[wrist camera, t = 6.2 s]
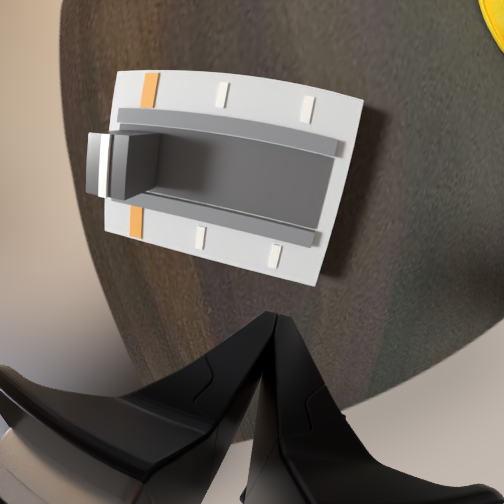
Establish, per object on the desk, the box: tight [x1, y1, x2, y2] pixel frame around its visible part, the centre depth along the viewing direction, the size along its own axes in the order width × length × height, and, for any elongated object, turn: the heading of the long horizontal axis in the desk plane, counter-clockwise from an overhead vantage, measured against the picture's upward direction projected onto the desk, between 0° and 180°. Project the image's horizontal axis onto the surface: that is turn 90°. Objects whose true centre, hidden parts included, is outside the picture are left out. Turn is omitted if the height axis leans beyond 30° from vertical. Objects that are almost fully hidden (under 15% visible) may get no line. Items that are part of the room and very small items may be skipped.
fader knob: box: [86, 130, 161, 201], centre depth 16 cm, size 4×3×4 cm
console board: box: [105, 70, 364, 286], centre depth 18 cm, size 12×16×2 cm
